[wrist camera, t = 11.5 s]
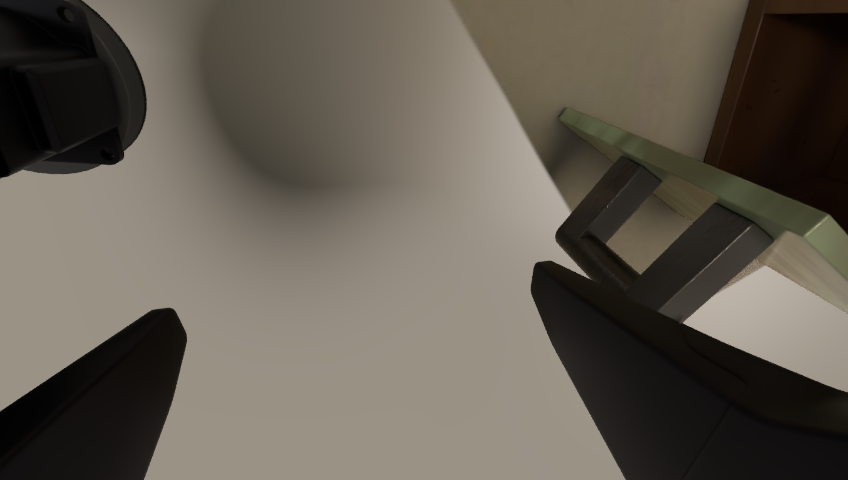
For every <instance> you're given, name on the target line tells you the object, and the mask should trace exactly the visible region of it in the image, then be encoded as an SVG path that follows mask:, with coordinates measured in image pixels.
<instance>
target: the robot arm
mask: <svg viewBox="0 0 848 480" xmlns="http://www.w3.org/2000/svg"><path fill="white" fill-rule="evenodd" d="M66 8H67V9H68V10H70V11H71V12H72V14H73V17H74V20H73V21H72V22H71V21H69V20H68V19H67V18H66V16H65V15H64V10H65V9H66ZM118 124H119V117H118V114H117V110H116V106H115V103H114V99H113V95H112V91H111V88H110V84H109V80H108V77H107V73H106V69H105V65H104V64H103V63H102V62H101V61H100V60H99V59H98V56H97V52H96V48H95V45H94V41H93V37H92V34H91V30H90V26H89V23H88V19H87V16H86V14H85V12H84V10H83V9H82V8H81V7H80V6H79V5H77V4H76V3H75V2H72V1H69V0H0V179H1V178H3V177H8V176H10V175H12V174H14V173H16V172H18V171H21V170H23V169H25V168H27V167H29V166H31V165H34V164H36V163H38V162H40V161H51V162H68V163H86V164H104V165H113V164H116V163H118V162H119V161H121V160H123V158H124V151H123V147H122V143H121V140H120V136H119V132H118V129H117V125H118ZM105 149H108V150H110V151H111V152H112V153H113V155H114V157H111V156H109V155H107V153H106V152H105ZM531 294H532V297H533V299H534V302H535V304H536V306H537V309H538V311H539V314H540V316H541V319H542V321H543V323H544V326H545V329H546V331H547V334H548V336H549V338H550V341H551V343H552V345H553V347H554V349H555V351H556V353H557V354H558V356H559V358H560V360H561V362H562V364H563V365H564V367H565V369H566V371H567V373H568V375H569V376H570V378H571V380H572V382H573V384H574V386H575V387H576V389H577V391H578V393H579V395H580V397H581V398H582V400H583V402H584V404H585V406H586V407H587V409H588V411H589V413H590V415H591V417H592V419H593V420H594V422H595V424H596V426H597V428H598V430H599V431H600V433H601V435H602V437H603V439H604V441H605V442H606V444H607V446H608V448H609V450H610V452H611V453H612V455H613V457H614V459H615V461H616V463H617V465H618V466H619V468H620V470H621V472H622V474H623V476H624V477H625V479H626V480H848V392H844V391H841V390H838V389H835V388H832V387H830V386H827V385H824V384H822V383H820V382H817V381H815V380H812V379H810V378H807V377H805V376H803V375H800V374H798V373H795V372H793V371H790V370H788V369H786V368H783V367H781V366H778V365H776V364H774V363H771V362H769V361H766V360H764V359H762V358H759V357H757V356H754V355H752V354H749V353H747V352H745V351H742V350H740V349H737V348H735V347H733V346H731V345H728V344H726V343H724V342H721V341H719V340H717V339H715V338H712V337H710V336H708V335H706V334H704V333H702V332H700V331H697V330H695V329H693V328H691V327H689V326H687V325H685V324H683V323H680V324H679V322H678V321H677V320H674V319H672V318H670V317H668V316H666V315H664V314H662V313H660V312H658V311H656V310H653V309H651V308H649V307H647V306H645V305H643V304H641V303H639V302H637V301H635V300H632V299H630V298H628V297H626V296H624V295H622V294H620V293H618V292H616V291H614V290H611V289H609V288H607V287H605V286H603V285H601V284H599V283H597V282H595V281H593V280H590V279H588V278H586V277H584V276H582V275H580V274H578V273H576V272H574V271H571V270H569V269H567V268H565V267H563V266H561V265H559V264H556V263H555V262H553V261H543V262H537V263H536V264H535V266H534V270H533V276H532V283H531ZM186 343H187V335H186V332H185V329H184V327H183V326H182V323H181V321H180V319H179V317H178V315H177V313H176V312H175V310H174V309H172V308H164V309H155V310H151V311H150V312H148V313H147V314H145V315H144V316H142V317H141V318H139V319H138V320H136V321H135V322H133V323H132V324H130V325H129V326H127V327H126V328H124V329H123V330H121V331H120V332H118V333H117V334H115V335H114V336H112V337H111V338H109V339H108V340H106V341H105V342H103V343H102V344H100V345H99V346H97V347H96V348H94V349H93V350H91V351H90V352H88V353H87V354H85V355H84V356H82V357H81V358H79V359H78V360H76V361H75V362H73V363H72V364H70V365H69V366H67V367H66V368H64V369H63V370H61V371H60V372H58V373H57V374H55V375H54V376H52V377H51V378H49V379H48V380H46V381H45V382H43V383H42V384H40V385H39V386H37V387H36V388H34V389H33V390H32V391H30V392H29V393H27V394H25V395H24V396H22V397H21V398H20V399H18V400H16V401H15V402H14V403H12V404H11V405H9V406H8V407H6V408H5V409H3V410H2V411H0V480H144V478H145V475H146V472H147V470H148V467H149V464H150V461H151V459H152V456H153V453H154V451H155V448H156V445H157V442H158V440H159V437H160V434H161V432H162V429H163V426H164V423H165V421H166V418H167V415H168V412H169V409H170V407H171V403H172V400H173V397H174V393H175V389H176V385H177V380H178V376H179V372H180V368H181V364H182V360H183V356H184V352H185V348H186Z"/></svg>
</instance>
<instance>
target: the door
mask: <svg viewBox="0 0 848 480" xmlns="http://www.w3.org/2000/svg"><path fill="white" fill-rule="evenodd" d="M559 120H560V121H561V122H562V123H564V124H565V125H566V126H567V127H569V128H570V129H571V130H573V131H574V132H575V133H576V134H578V135H579V136H580V137H582V138H583V139H584V140H585V141H587V142H588V143H589V144H590V145H592V146H593V147H594V148H596V149H597V150H598V151H599V152H601V153H602V154H603V155H605V156H606V157H607V158H608V159H610V160H611V161H612V162H614V164H613V166H612V167H611V168H610V169H609V170H608V171H607V173H606V174H605V175H604V176H603V177H602V178H601V180H600V181H599V182H598V183H597V184H596V185H595V187H594V188H593V189H592V190H591V191H590V192H589V194H588V195H587V196H586V197H585V198H584V199H583V201H582V202H581V203H580V204H579V205H578V206H577V208H576V209H575V210H574V211H573V212H572V213H571V215H570V216H569V217H568V218H567V219H566V221H565V222H564V223H563V224H562V225H561V226H560V227H559V228H558V230H557V232H556V235H555V238H556V242H557V243H558V244H559V245H560V247H561V248H562V249H563V250H564V251H565V252H566V253H567V254H568V255H569V256H570V257H571V258H572V259H573V260H574V261H575V263H576V264H577V265H578V266H579V267H580V268H581V269H582V270H583V271H584V272H585V273H586V275H587V276H588V277H589V278H590V279H591V280H593V281H595V282H597V283H599V284H601V285H603V286H605V287H607V288H609V289H611V290H614V291H616V292H618V293H620V294H622V295H624V296H626V297H628V298H630V299H632V300H635V301H637V302H639V303H641V304H643V305H645V306H647V307H649V308H651V309H653V310H656V311H658V312H660V313H662V314H664V315H666V316H668V317H670V318H672V319H674V320H677V321H678V322H679V324H680V323H683V322H684V321H685V320H686V319H687V318H688V317H690V316H691V315H692V314H693V313H694V312H695V311H696V310H698V309H699V308H700V307H701V306H702V305H703V304H704V303H705V302H707V301H708V300H709V299H710V298H711V297H712V296H713V295H715V294H716V293H717V292H718V291H719V290H720V289H721V288H723V287H724V286H725V285H726V284H727V283H728V282H729V281H731V280H732V279H733V278H734V277H735V276H736V275H737V274H738V273H740V272H741V271H742V270H743V269H744V268H745V267H746V266H748V265H749V264H750V263H751V262H752V261H753V260H754V259H756V260H758V261H760V262H761V263H763V264H765V265H766V266H768V267H770V268H771V269H773V270H775V271H777V272H778V273H780V274H782V275H783V276H785V277H787V278H788V279H790V280H792V281H794V282H795V283H797V284H799V285H800V286H802V287H804V288H805V289H807V290H809V291H810V292H812V293H814V294H815V295H817V296H819V297H821V298H822V299H824V300H826V301H827V302H829V303H831V304H832V305H834V306H836V307H837V308H839V309H841V310H842V311H844V312H846V313H848V235H847V234H846V232H845V231H844V230H843V229H842V228H841V227H840V226H839V225H838V224H837V222H836V221H835V220H834V219H833V218H832V217H831V216H830V215H829V214H828V213H826V212H823V211H821V210H818V209H816V208H813V207H811V206H808V205H806V204H804V203H801V202H799V201H796V200H794V199H791V198H789V197H786V196H784V195H781V194H779V193H777V192H774V191H772V190H769V189H767V188H764V187H762V186H759V185H757V184H754V183H752V182H750V181H747V180H745V179H742V178H740V177H737V176H735V175H732V174H730V173H727V172H725V171H723V170H720V169H718V168H715V167H713V166H710V165H708V164H705V163H703V162H700V161H698V160H696V159H693V158H691V157H688V156H686V155H683V154H681V153H678V152H676V151H673V150H671V149H669V148H666V147H664V146H661V145H659V144H656V143H654V142H651V141H649V140H646V139H644V138H642V137H639V136H637V135H634V134H632V133H629V132H627V131H624V130H622V129H619V128H617V127H615V126H612V125H610V124H607V123H605V122H602V121H600V120H597V119H595V118H592V117H590V116H588V115H585V114H583V113H580V112H578V111H575V110H573V109H570V108H566V110H565V111H564V112H563V114H562V115H561V116H560V118H559ZM652 193H653V194H655V195H656V196H657V197H658V198H660V199H661V200H662V201H664V202H665V203H666V204H667V205H669V206H670V207H671V208H673V209H674V210H675V211H676V212H678V213H679V214H680V215H682V216H684V217H685V218H687V219H689V220H690V221H692V222H694V223H693V224H692V225H691V226H690V227H689V228H688V229H687V230H686V231H685V232H684V233H683V234H682V235H681V236H680V237H679V238H678V239H677V240H676V241H675V242H674V243H673V244H672V245H671V246H670V247H669V248H668V249H666V250H665V251H664V252H663V253H662V254H661V255H660V256H659V257H658V258H657V259H656V260H655V261H654V262H653V263H652V264H651V265H650V266H649V267H648V268H647V269H646V270H645V271H644V272H643V273H642V274H641V275H640V274H639V273H638V272H636V271H635V270H634V269H633V268H632V267H631V266H630V265H629V264H627V263H626V262H625V261H624V260H623V259H622V258H621V257H619V256H618V255H617V254H616V253H615V252H614V251H613V250H611V249H610V248H609V247H608V246H607V245H606V244H605V243H606V242H607V241H608V240H609V239H610V238H611V237H612V236H613V235H614V234H615V233H616V232H617V230H618V229H619V228H620V227H621V226H622V225H623V224H624V223H625V222H626V221H627V220H628V219H629V218H630V216H631V215H632V214H633V213H634V212H635V211H636V210H637V209H638V208H639V207H640V206H641V205H642V204H643V203H644V201H645V200H646V199H647V198H648V197H649V196H650V195H651V194H652Z"/></svg>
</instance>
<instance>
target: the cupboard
mask: <svg viewBox="0 0 848 480" xmlns="http://www.w3.org/2000/svg"><path fill="white" fill-rule="evenodd" d="M704 163H705V164H708V165H710V166H713V167H715V168H718V169H720V170H723V171H725V172H727V173H730V174H732V175H735V176H737V177H740V178H742V179H745V180H747V181H750V182H752V183H754V184H757V185H759V186H762V187H764V188H767V189H769V190H772V191H774V192H777V193H779V194H781V195H784V196H786V197H789V198H791V199H794V200H796V201H799V202H801V203H804V204H806V205H808V206H811V207H813V208H816V209H818V210H821V211H823V212H826V213H828V214H829V215H830V216H831V217H832V218H833V219H834V220H835V221H836V222H837V224H838V225H839V226H840V227H841V228H842V229H843V230H844V231H845V232H846V234H847V235H848V0H751V1H750V4H749V8H748V11H747V15H746V18H745V22H744V25H743V29H742V32H741V36H740V39H739V43H738V46H737V50H736V53H735V57H734V60H733V64H732V67H731V71H730V74H729V78H728V81H727V85H726V88H725V92H724V95H723V99H722V102H721V106H720V109H719V113H718V116H717V120H716V124H715V127H714V131H713V134H712V138H711V141H710V145H709V148H708V152H707V155H706V159H705V162H704Z"/></svg>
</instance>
